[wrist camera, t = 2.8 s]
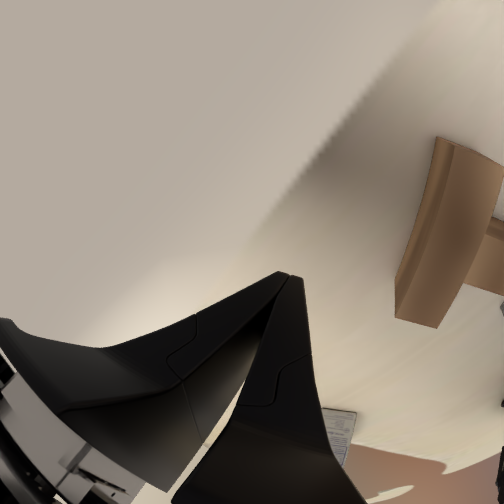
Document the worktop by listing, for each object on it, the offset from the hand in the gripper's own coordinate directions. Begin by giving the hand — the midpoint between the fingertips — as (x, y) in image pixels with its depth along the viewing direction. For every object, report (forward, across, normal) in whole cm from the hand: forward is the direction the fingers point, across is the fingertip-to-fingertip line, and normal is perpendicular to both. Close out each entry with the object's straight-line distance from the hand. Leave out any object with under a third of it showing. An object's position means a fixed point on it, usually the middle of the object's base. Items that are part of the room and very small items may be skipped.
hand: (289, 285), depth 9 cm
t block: (+10, -10, 0) cm, 14 cm away
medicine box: (+10, -8, +28) cm, 31 cm away
